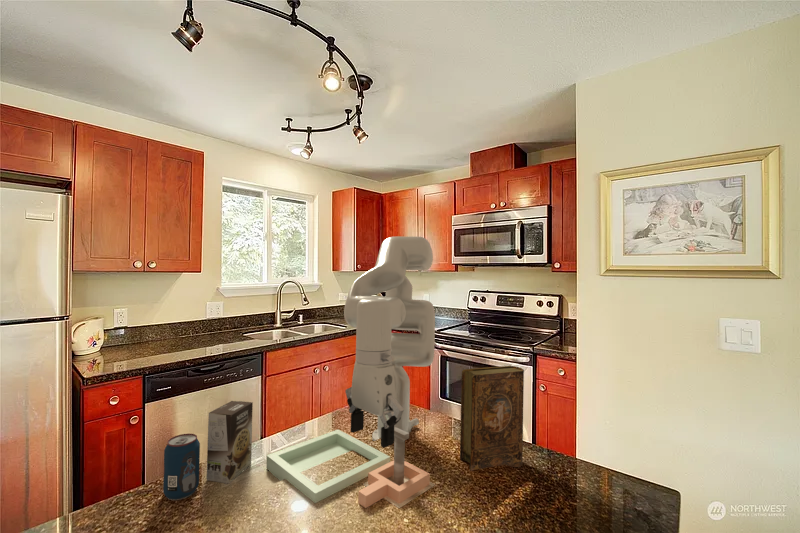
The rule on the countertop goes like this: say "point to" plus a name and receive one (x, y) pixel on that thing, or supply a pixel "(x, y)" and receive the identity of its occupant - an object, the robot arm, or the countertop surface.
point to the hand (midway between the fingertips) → (371, 437)
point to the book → (492, 416)
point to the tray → (320, 451)
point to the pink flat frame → (392, 484)
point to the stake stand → (401, 467)
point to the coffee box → (229, 441)
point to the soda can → (181, 466)
